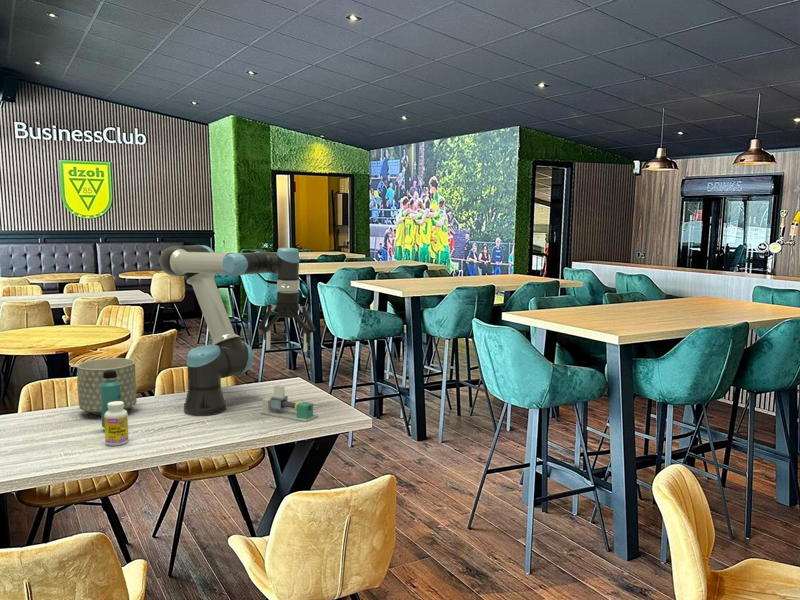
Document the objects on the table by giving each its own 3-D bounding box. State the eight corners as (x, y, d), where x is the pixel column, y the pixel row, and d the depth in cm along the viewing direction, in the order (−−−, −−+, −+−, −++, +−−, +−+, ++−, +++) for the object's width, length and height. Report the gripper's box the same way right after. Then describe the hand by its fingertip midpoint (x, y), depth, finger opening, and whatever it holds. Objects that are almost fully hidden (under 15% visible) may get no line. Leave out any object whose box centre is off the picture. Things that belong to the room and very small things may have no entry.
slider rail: (261, 413, 237) (260, 399, 236) (273, 409, 243) (273, 395, 242) (306, 422, 227) (305, 407, 227) (317, 417, 233) (317, 402, 233)
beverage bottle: (102, 434, 213) (99, 374, 210) (101, 428, 219) (98, 369, 216) (123, 431, 216) (121, 372, 213) (122, 425, 222) (119, 368, 219)
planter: (138, 403, 249) (136, 356, 247) (135, 417, 231) (133, 367, 229) (83, 407, 243) (81, 359, 241) (75, 422, 225) (73, 370, 223)
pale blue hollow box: (270, 409, 236) (270, 386, 235) (278, 406, 240) (278, 384, 239) (279, 411, 234) (279, 388, 233) (287, 408, 238) (287, 385, 237)
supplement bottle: (105, 447, 200) (103, 406, 199) (105, 440, 206) (103, 401, 205) (128, 444, 203) (127, 404, 201) (128, 438, 209) (126, 399, 207)
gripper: (250, 291, 229) (249, 350, 231) (320, 294, 226) (318, 354, 229) (256, 288, 236) (256, 346, 239) (324, 292, 234) (323, 349, 237)
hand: (286, 350), depth 234 cm, fingers open, 13 cm apart
